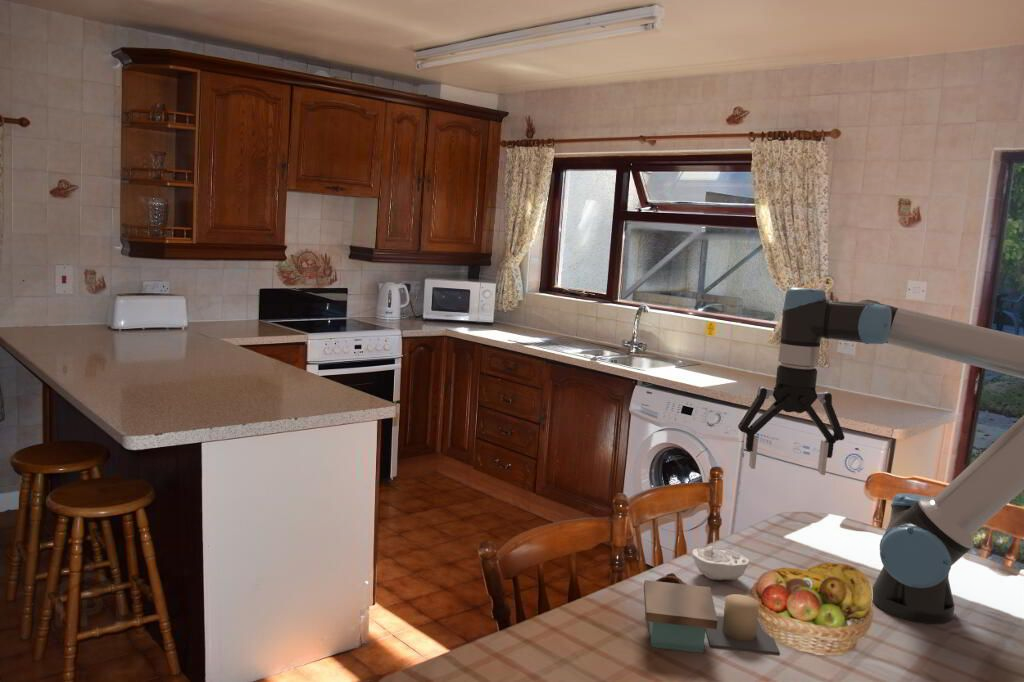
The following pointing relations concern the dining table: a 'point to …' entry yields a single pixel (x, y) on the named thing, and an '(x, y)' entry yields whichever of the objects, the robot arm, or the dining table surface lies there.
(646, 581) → the lid
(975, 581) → the dining table surface
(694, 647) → the teal open box
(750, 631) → the mat stand
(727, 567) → the cell model
